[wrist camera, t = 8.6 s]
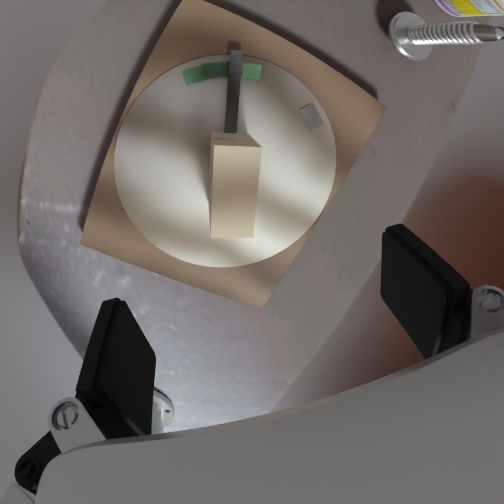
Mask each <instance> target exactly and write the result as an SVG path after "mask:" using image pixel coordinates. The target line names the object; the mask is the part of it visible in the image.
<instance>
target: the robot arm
mask: <svg viewBox="0 0 504 504" xmlns="http://www.w3.org/2000/svg"><path fill="white" fill-rule="evenodd" d="M381 296H382V298H383V300H384V302H385V303H386V304H387V306H388V307H389V309H390V310H391V311H392V313H393V314H394V315H395V317H396V318H397V320H398V321H399V322H400V324H401V325H402V327H403V328H404V329H405V331H406V332H407V334H408V335H409V336H410V338H411V339H412V341H413V342H414V344H415V345H416V346H417V348H418V349H419V351H420V352H421V354H422V355H423V357H424V358H425V359H426V360H424V361H421V362H419V363H417V364H415V365H412V366H410V367H408V368H405V369H403V370H400V371H398V372H396V373H393V374H391V375H388V376H386V377H383V378H381V379H378V380H375V381H373V382H370V383H367V384H365V385H362V386H359V387H356V388H353V389H350V390H347V391H345V392H342V393H339V394H336V395H333V396H329V397H326V398H323V399H320V400H317V401H313V402H310V403H307V404H303V405H300V406H296V407H292V408H289V409H285V410H281V411H277V412H274V413H269V414H265V415H261V416H257V417H252V418H248V419H243V420H239V421H234V422H229V423H224V424H219V425H213V426H208V427H202V428H196V429H189V430H182V431H175V432H168V433H163V427H165V426H167V425H169V424H170V423H171V422H172V420H173V418H174V407H173V405H172V403H171V402H170V401H169V400H168V399H167V398H166V397H165V396H163V395H162V394H160V393H159V392H157V391H155V390H154V379H155V366H156V356H155V353H154V351H153V349H152V347H151V346H150V344H149V342H148V341H147V339H146V337H145V336H144V334H143V332H142V330H141V329H140V327H139V325H138V323H137V322H136V320H135V318H134V316H133V314H132V313H131V311H130V309H129V307H128V305H127V303H126V302H125V301H121V300H120V299H119V298H114V299H110V300H106V301H103V302H102V305H101V308H100V310H99V313H98V316H97V319H96V322H95V325H94V328H93V331H92V335H91V338H90V341H89V344H88V347H87V351H86V354H85V357H84V361H83V365H82V368H81V372H80V375H79V379H78V383H77V386H76V396H75V398H73V397H67V398H64V399H62V400H60V401H58V402H57V403H56V404H55V405H54V406H53V408H52V409H51V411H50V413H49V416H48V426H49V429H50V431H49V432H48V433H47V434H46V435H45V436H43V437H42V438H41V439H40V440H39V441H38V442H37V443H36V444H35V445H33V446H32V447H31V448H30V449H29V450H28V451H27V452H26V453H25V454H23V455H22V456H21V458H20V459H19V460H18V462H17V464H16V467H15V478H16V483H14V482H11V484H10V485H9V487H8V488H7V490H6V492H5V493H4V495H3V497H2V498H1V500H0V504H504V292H503V291H502V290H501V289H499V288H497V287H494V286H480V287H478V288H477V289H475V290H474V291H473V290H471V289H470V283H468V282H467V281H466V280H465V279H464V278H463V277H462V276H461V275H460V274H459V273H458V272H457V271H456V270H455V269H454V268H453V267H452V266H450V265H449V264H448V263H447V262H446V261H445V260H444V259H443V258H442V257H440V256H439V255H438V254H437V253H436V252H435V251H433V249H431V248H430V247H429V246H428V245H427V244H426V243H424V242H423V241H422V240H421V239H420V238H419V237H417V236H416V235H415V234H414V233H412V232H411V231H410V230H409V229H408V228H406V227H405V226H404V225H403V224H397V225H393V226H389V227H387V228H386V230H385V232H383V234H382V265H381Z"/></svg>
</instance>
